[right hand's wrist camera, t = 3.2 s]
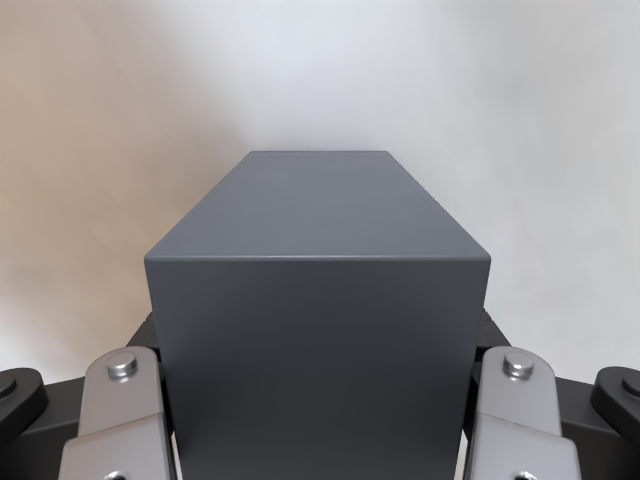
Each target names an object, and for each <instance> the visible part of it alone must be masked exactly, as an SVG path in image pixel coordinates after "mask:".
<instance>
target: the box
mask: <svg viewBox="0 0 640 480" xmlns="http://www.w3.org/2000/svg"><path fill="white" fill-rule="evenodd" d="M144 265H145V270H146V276H147V281H148V287H149V293H150V298H151V304H152V309H153V315H154V321H155V326H156V332H157V337H158V343H159V349H160V354H161V360H162V365H163V371H164V377H165V382H166V388H167V393H168V399H169V405H170V410H171V416H172V422H173V427H174V433H175V438H176V444H177V450H178V455H179V461H180V466H181V472H182V478H183V480H454V476H455V470H456V464H457V458H458V452H459V446H460V440H461V435H462V429H463V423H464V417H465V411H466V405H467V399H468V394H469V388H470V382H471V376H472V370H473V364H474V358H475V353H476V347H477V341H478V335H479V329H480V323H481V317H482V312H483V306H484V300H485V294H486V288H487V282H488V276H489V270H490V265H491V257H490V255H489V254H488V253H487V252H486V251H485V250H484V249H483V248H482V247H481V246H480V245H479V244H478V243H477V242H476V241H475V240H474V239H473V238H472V237H471V236H470V235H469V234H468V233H467V232H466V230H465V229H464V228H463V227H462V226H461V225H460V224H459V223H458V222H457V221H456V220H455V219H454V218H453V217H452V216H451V215H450V214H449V213H448V212H447V211H446V210H445V209H444V208H443V207H442V206H441V205H440V204H439V203H438V202H437V201H436V200H435V199H434V198H433V197H432V196H431V195H430V194H429V193H428V192H427V191H426V190H425V189H424V188H423V187H422V186H421V185H420V184H419V183H418V182H417V181H416V180H415V179H414V178H413V177H412V176H411V175H410V174H409V173H408V172H407V171H406V170H405V169H404V168H403V167H402V166H401V165H400V164H399V163H398V162H397V161H396V160H395V159H394V158H393V157H392V156H391V155H390V154H389V153H388V152H387V151H252V152H250V153H249V154H248V155H247V156H246V157H245V158H244V159H243V160H242V161H241V162H240V163H239V164H238V165H237V166H236V167H235V168H234V169H233V170H232V171H231V172H230V173H229V174H228V175H227V176H226V177H225V178H224V179H223V180H222V181H221V182H219V183H218V184H217V185H216V186H215V187H214V188H213V189H212V190H211V191H210V192H209V193H208V194H207V195H206V196H205V197H204V198H203V199H202V200H201V201H200V202H199V203H198V204H197V205H196V206H195V207H194V208H193V209H192V210H191V211H190V212H189V213H188V214H187V215H186V216H185V217H184V218H183V219H182V220H181V221H180V222H179V223H178V224H177V225H176V226H175V227H174V228H173V229H172V230H171V231H170V232H169V233H168V234H167V235H166V236H165V237H163V238H162V239H161V240H160V241H159V242H158V243H157V244H156V245H155V246H154V247H153V248H152V249H151V250H150V251H149V252H148V253H147V254H146V255H145V257H144Z"/></svg>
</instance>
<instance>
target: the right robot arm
mask: <svg viewBox="0 0 640 480" xmlns="http://www.w3.org/2000/svg"><path fill="white" fill-rule="evenodd" d="M463 430H464V433H465V435H466V438H467V440H468V443H467V449H466V456H465V463H464V470H463V478H462V480H640V371H638V370H634V369H630V368H625V367H606V368H603V369H601V370H600V371H599V372H598V374H597V377H596V380H595V383H594V385H592V384H587V383H582V382H578V381H573V380H568V379H563V378H559V377H555V374H554V371H553V369H552V368H551V366H550V365H549V364H548V363H547V362H546V361H545V360H543V359H542V358H541V357H539V356H537V355H536V354H534V353H532V352H529V351H527V350H524V349H521V348H517V347H512V346H511V344H510V343H509V342H508V340H507V339H506V338H505V336H504V335H503V333H502V332H501V331H500V329H499V328H498V327H497V325H496V324H495V323H494V321H492V320H491V317H490V316H489V314H488V313H487V312H485V309H484V307H483V312H482V317H481V323H480V329H479V335H478V341H477V347H476V353H475V358H474V364H473V370H472V376H471V382H470V388H469V394H468V399H467V405H466V411H465V417H464V423H463ZM173 431H174V427H173V422H172V416H171V410H170V405H169V399H168V393H167V388H166V382H165V377H164V371H163V365H162V360H161V354H160V349H159V343H158V337H157V332H156V326H155V321H154V315H153V310H152V312H151V313H150V314H149V315H148V317H147V318H146V321H144V322H143V324H142V325H141V326H140V328H139V329H138V330H137V332H136V333H135V334H134V336H133V337H132V338H131V340H130V341H129V343H128V344H127V345H126V347H123V348H119V349H116V350H113V351H111V352H108V353H106V354H104V355H103V356H101V357H99V358H98V359H97V360H95V361H94V362H93V363H92V364H91V365H90V366H89V368H88V369H87V371H86V375H85V376H84V377H81V378H77V379H73V380H68V381H63V382H58V383H53V384H49V385H44V383H43V380H42V376H41V374H40V373H39V372H38V371H37V370H35V369H31V368H14V369H9V370H5V371H1V372H0V480H178V477H177V470H176V463H175V456H174V449H173V443H172V438H171V436H172V434H173Z"/></svg>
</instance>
